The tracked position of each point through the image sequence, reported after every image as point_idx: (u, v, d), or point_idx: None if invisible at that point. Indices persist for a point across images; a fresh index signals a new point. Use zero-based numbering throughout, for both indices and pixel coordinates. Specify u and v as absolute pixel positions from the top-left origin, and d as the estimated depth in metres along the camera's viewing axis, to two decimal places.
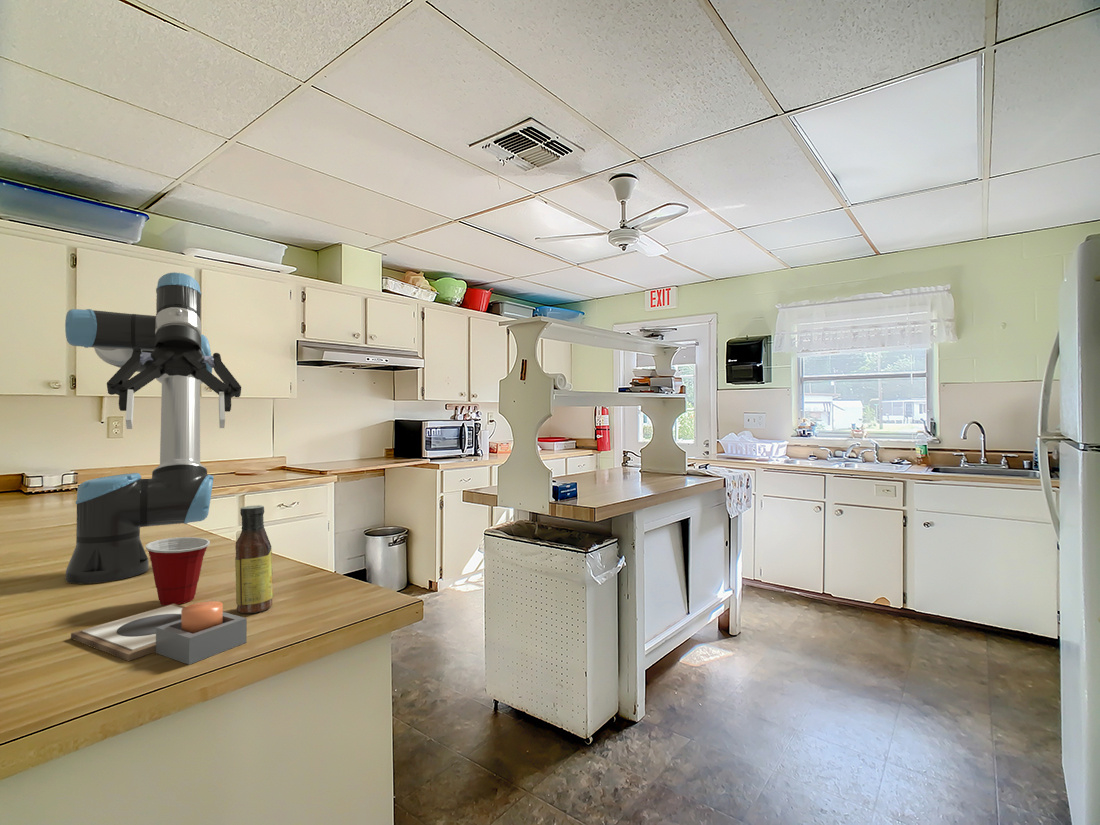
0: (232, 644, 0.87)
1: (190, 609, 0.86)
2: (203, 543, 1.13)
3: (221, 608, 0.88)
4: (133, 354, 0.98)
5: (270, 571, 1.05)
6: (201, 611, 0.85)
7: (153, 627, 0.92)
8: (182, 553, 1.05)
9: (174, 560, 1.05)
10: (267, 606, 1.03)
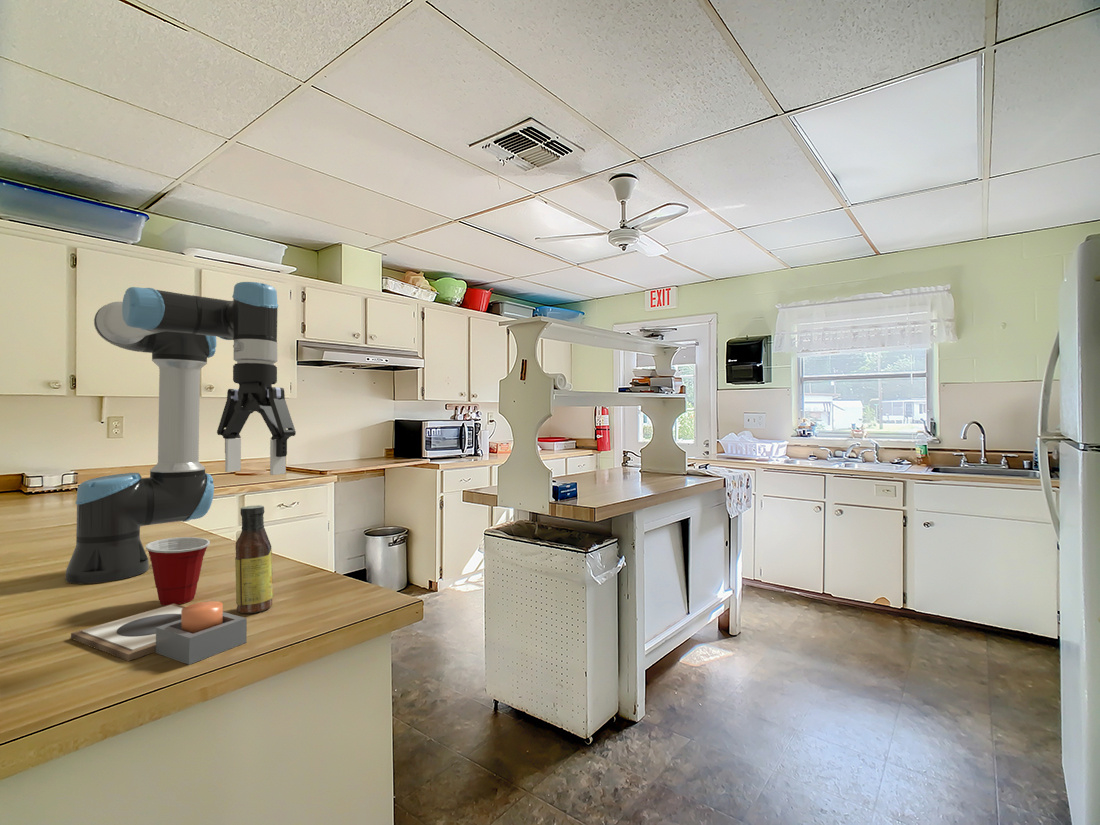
0: (232, 644, 0.87)
1: (190, 609, 0.86)
2: (203, 543, 1.13)
3: (221, 608, 0.88)
4: (227, 397, 1.07)
5: (270, 571, 1.05)
6: (201, 611, 0.85)
7: (153, 627, 0.92)
8: (182, 553, 1.05)
9: (174, 560, 1.05)
10: (267, 606, 1.03)
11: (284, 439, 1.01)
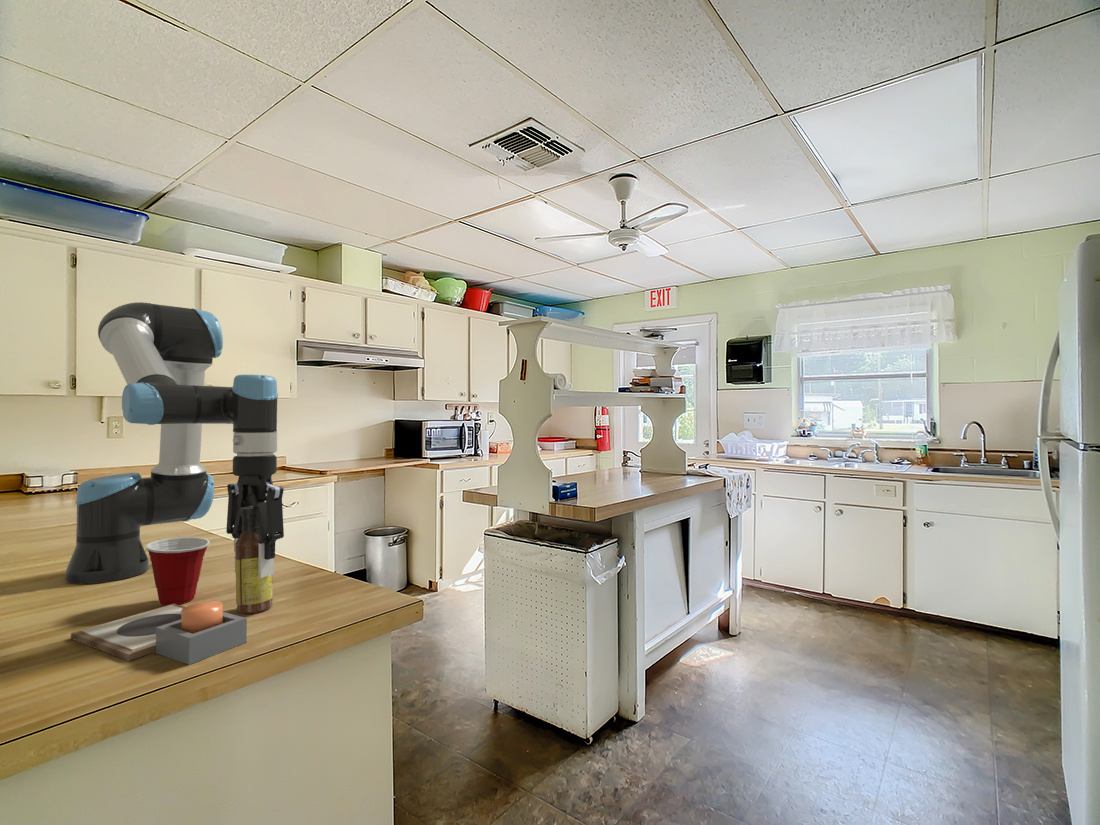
0: (232, 644, 0.87)
1: (190, 609, 0.86)
2: (203, 543, 1.13)
3: (221, 608, 0.88)
4: (228, 493, 1.06)
5: None
6: (201, 611, 0.85)
7: (153, 627, 0.92)
8: (182, 554, 1.05)
9: (174, 560, 1.05)
10: (267, 606, 1.03)
11: (272, 542, 1.02)
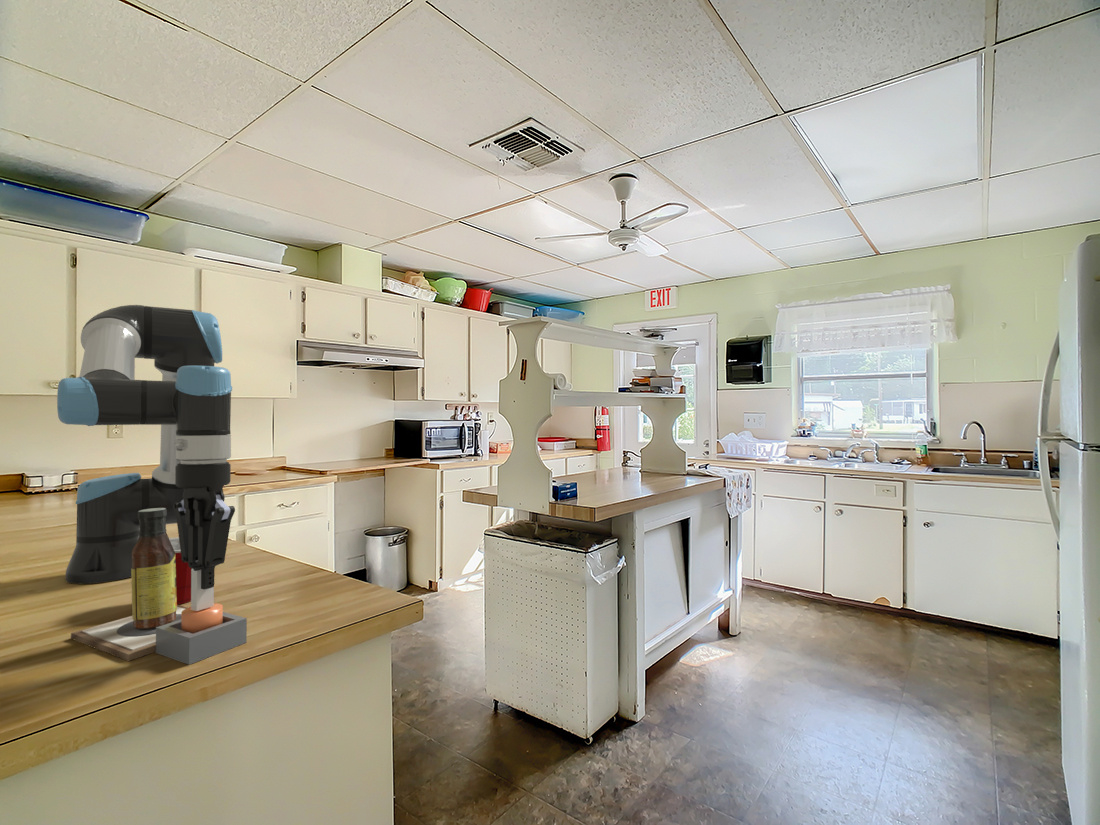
0: (232, 644, 0.87)
1: (190, 611, 0.86)
2: None
3: (221, 610, 0.88)
4: (175, 513, 0.88)
5: (172, 581, 0.94)
6: (201, 614, 0.85)
7: None
8: None
9: None
10: (168, 621, 0.92)
11: (211, 568, 0.86)
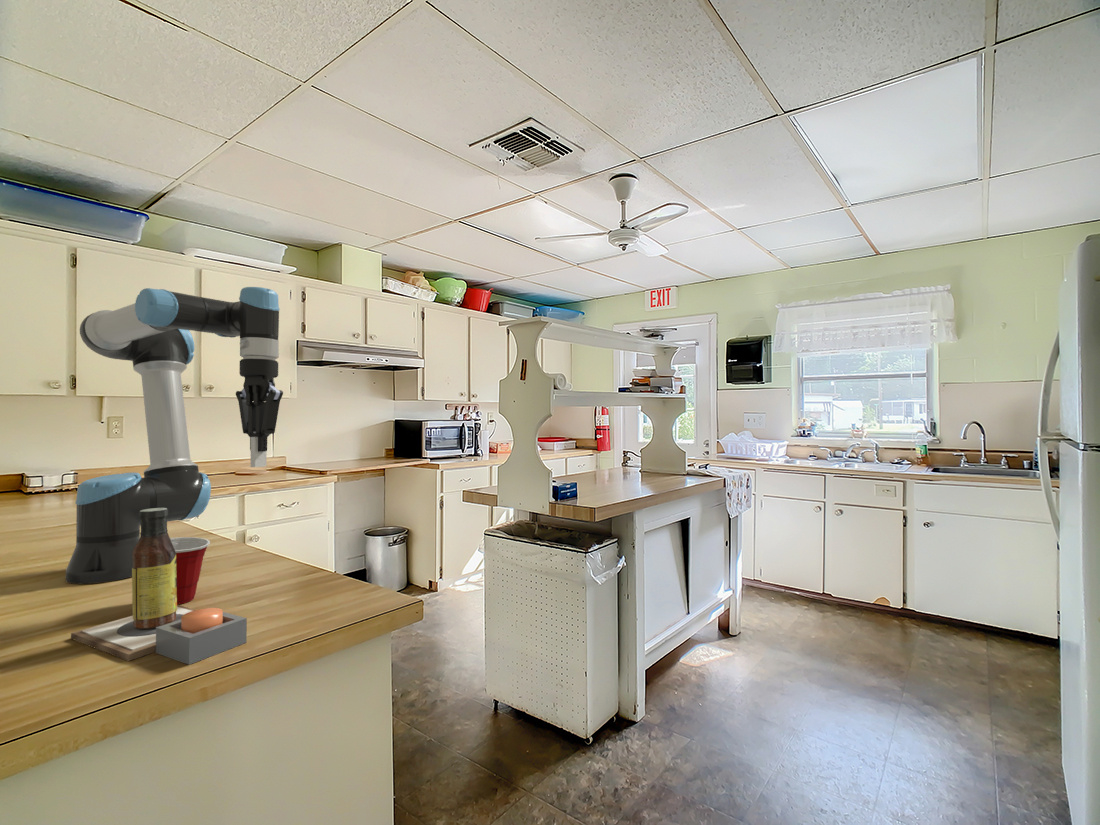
0: (232, 644, 0.87)
1: (190, 616, 0.86)
2: (203, 543, 1.13)
3: (221, 615, 0.88)
4: (238, 398, 1.20)
5: (173, 581, 0.94)
6: (200, 619, 0.85)
7: None
8: (182, 553, 1.05)
9: None
10: (168, 621, 0.92)
11: (265, 436, 1.17)
